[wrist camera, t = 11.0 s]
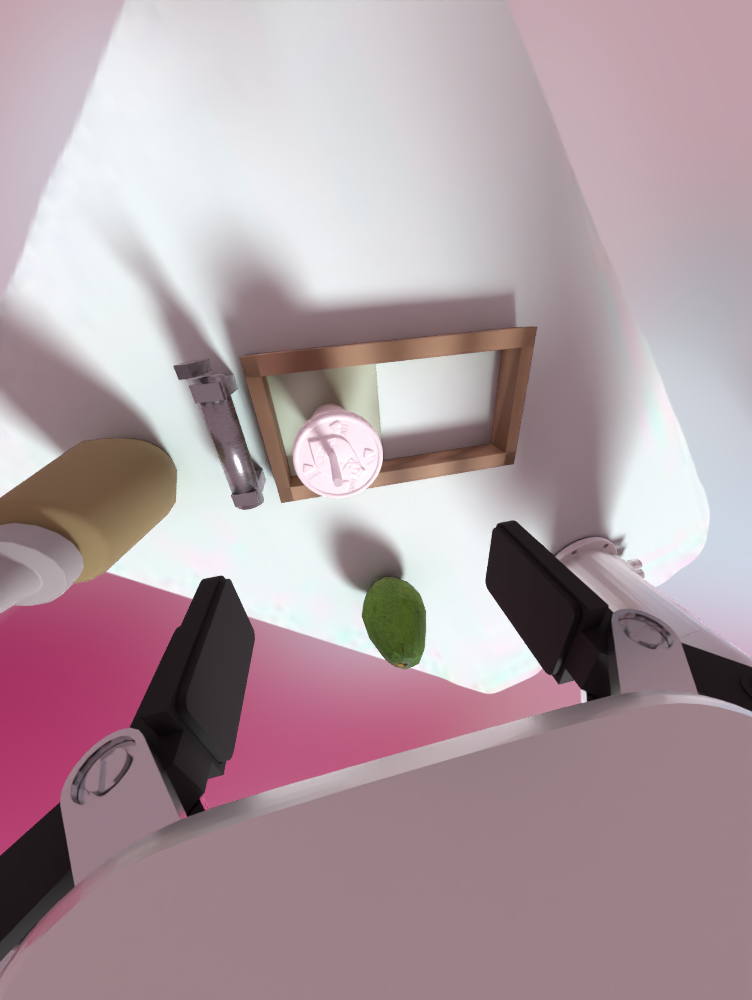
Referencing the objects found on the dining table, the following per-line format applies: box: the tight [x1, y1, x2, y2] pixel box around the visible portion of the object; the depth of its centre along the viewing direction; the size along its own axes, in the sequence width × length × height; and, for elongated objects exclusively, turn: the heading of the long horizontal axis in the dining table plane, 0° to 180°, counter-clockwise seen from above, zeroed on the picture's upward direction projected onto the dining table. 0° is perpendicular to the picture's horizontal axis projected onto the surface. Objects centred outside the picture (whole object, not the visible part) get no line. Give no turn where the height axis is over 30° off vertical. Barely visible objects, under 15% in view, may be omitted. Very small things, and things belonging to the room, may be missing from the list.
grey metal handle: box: [174, 359, 266, 510], centre depth 24 cm, size 2×12×8 cm, turn 5°
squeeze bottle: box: [0, 438, 177, 613], centre depth 20 cm, size 8×8×18 cm
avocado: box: [362, 577, 426, 669], centre depth 36 cm, size 8×8×12 cm
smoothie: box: [293, 404, 383, 498], centre depth 23 cm, size 6×6×14 cm
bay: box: [240, 327, 537, 503], centre depth 28 cm, size 25×13×3 cm, turn 95°
